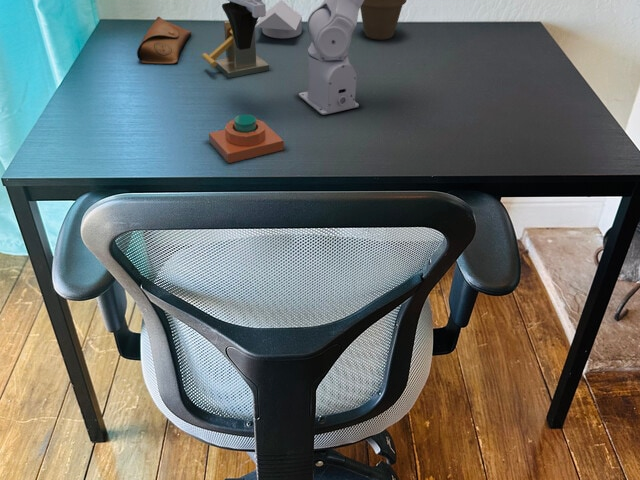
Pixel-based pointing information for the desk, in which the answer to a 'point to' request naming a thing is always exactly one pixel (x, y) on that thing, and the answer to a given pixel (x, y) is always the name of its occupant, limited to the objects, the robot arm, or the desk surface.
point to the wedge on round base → (281, 22)
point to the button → (245, 123)
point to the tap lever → (218, 51)
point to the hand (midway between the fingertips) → (243, 47)
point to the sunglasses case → (162, 43)
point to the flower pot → (380, 17)
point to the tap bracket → (240, 58)
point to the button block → (245, 142)
